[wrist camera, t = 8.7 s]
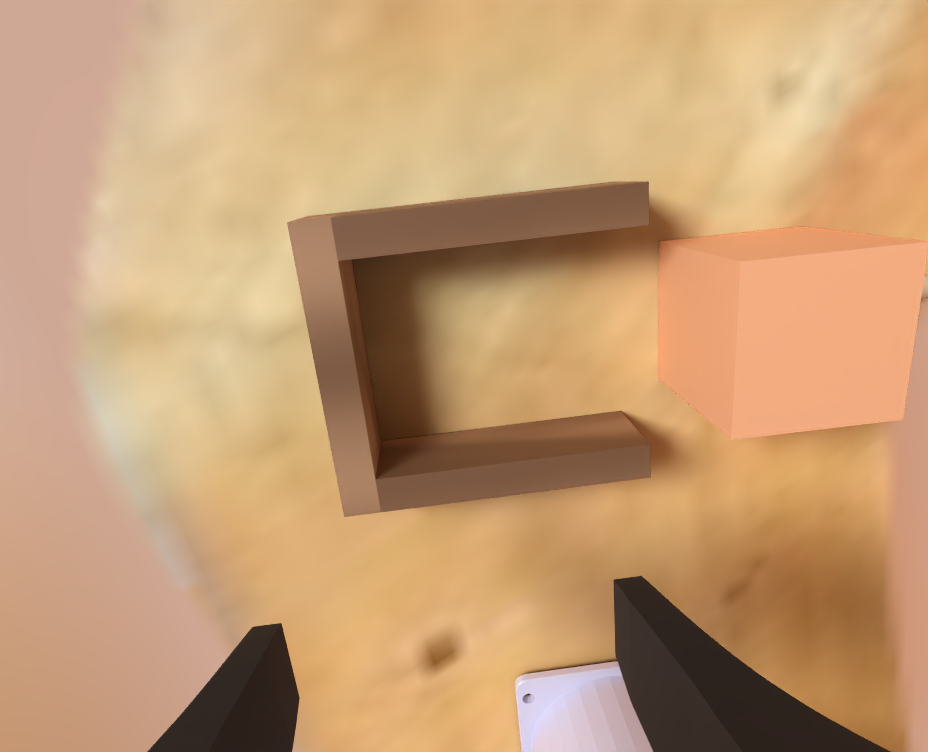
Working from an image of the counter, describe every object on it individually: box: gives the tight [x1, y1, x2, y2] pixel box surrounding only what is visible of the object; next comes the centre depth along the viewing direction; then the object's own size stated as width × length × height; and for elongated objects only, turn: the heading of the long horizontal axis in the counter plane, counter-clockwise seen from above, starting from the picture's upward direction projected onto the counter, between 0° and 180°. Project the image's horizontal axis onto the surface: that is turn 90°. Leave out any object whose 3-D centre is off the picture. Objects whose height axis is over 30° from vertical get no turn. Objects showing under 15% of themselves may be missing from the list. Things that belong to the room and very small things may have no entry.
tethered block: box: [658, 226, 928, 440], centre depth 19 cm, size 5×14×6 cm, turn 96°
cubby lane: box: [287, 182, 651, 517], centre depth 20 cm, size 9×10×3 cm
